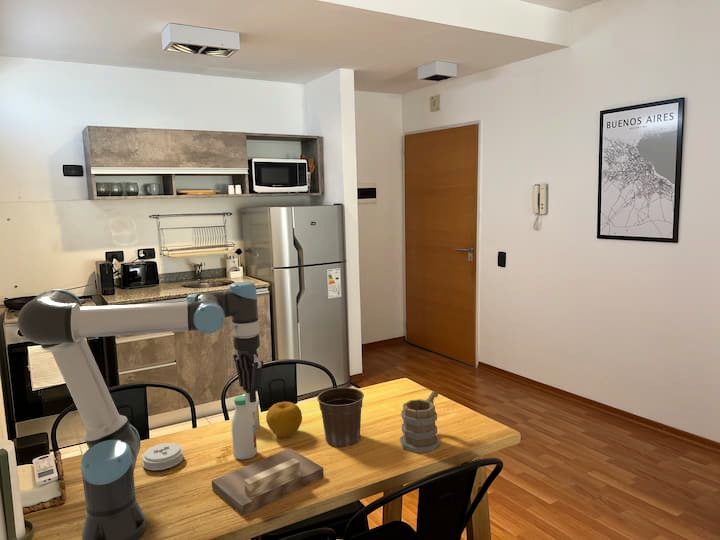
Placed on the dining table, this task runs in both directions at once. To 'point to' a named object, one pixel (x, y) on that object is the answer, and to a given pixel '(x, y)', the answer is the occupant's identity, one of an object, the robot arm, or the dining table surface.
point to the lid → (162, 456)
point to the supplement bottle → (256, 415)
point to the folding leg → (271, 477)
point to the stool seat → (235, 495)
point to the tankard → (419, 425)
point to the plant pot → (341, 415)
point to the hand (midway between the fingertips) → (251, 411)
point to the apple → (284, 419)
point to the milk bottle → (243, 431)
